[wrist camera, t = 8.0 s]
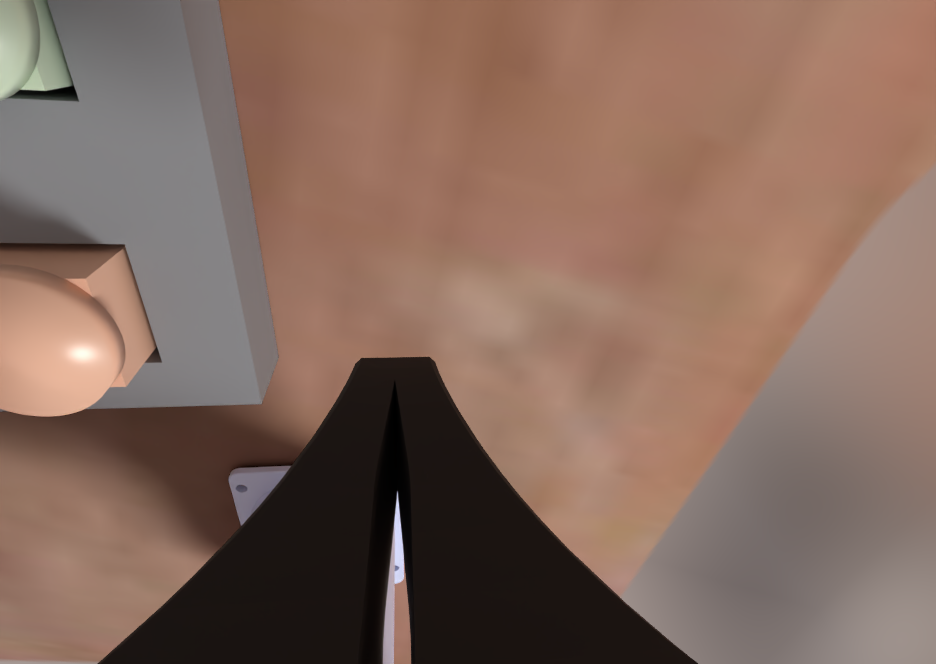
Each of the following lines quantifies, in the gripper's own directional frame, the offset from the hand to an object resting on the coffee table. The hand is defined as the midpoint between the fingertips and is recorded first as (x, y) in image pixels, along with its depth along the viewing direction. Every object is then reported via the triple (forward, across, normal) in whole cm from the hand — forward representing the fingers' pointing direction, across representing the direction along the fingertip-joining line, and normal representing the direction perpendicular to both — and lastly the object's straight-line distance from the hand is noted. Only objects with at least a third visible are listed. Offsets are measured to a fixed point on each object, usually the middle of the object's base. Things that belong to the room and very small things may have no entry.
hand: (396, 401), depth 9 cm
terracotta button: (+9, +10, +2) cm, 14 cm away
